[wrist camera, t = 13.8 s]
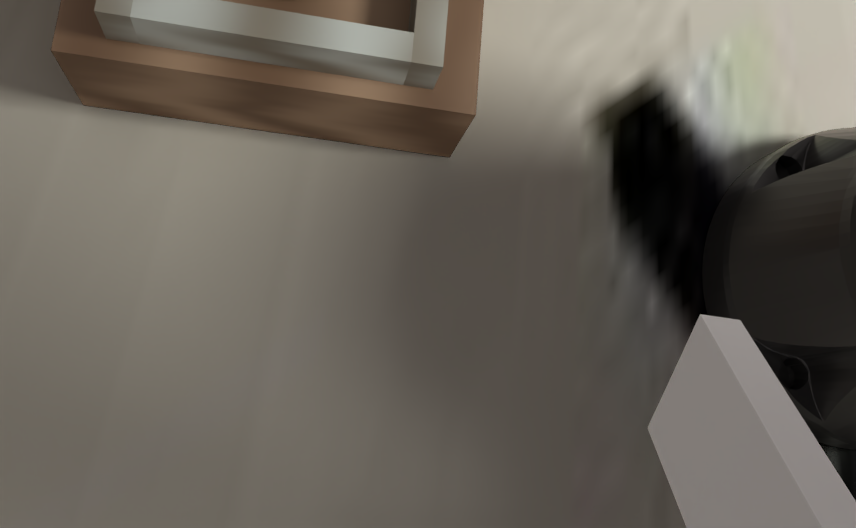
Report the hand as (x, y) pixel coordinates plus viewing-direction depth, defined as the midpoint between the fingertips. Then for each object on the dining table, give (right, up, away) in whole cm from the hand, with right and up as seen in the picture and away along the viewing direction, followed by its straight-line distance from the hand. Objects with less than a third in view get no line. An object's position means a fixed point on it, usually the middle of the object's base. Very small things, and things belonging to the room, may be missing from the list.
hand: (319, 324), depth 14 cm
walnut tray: (-4, +14, +23) cm, 27 cm away
